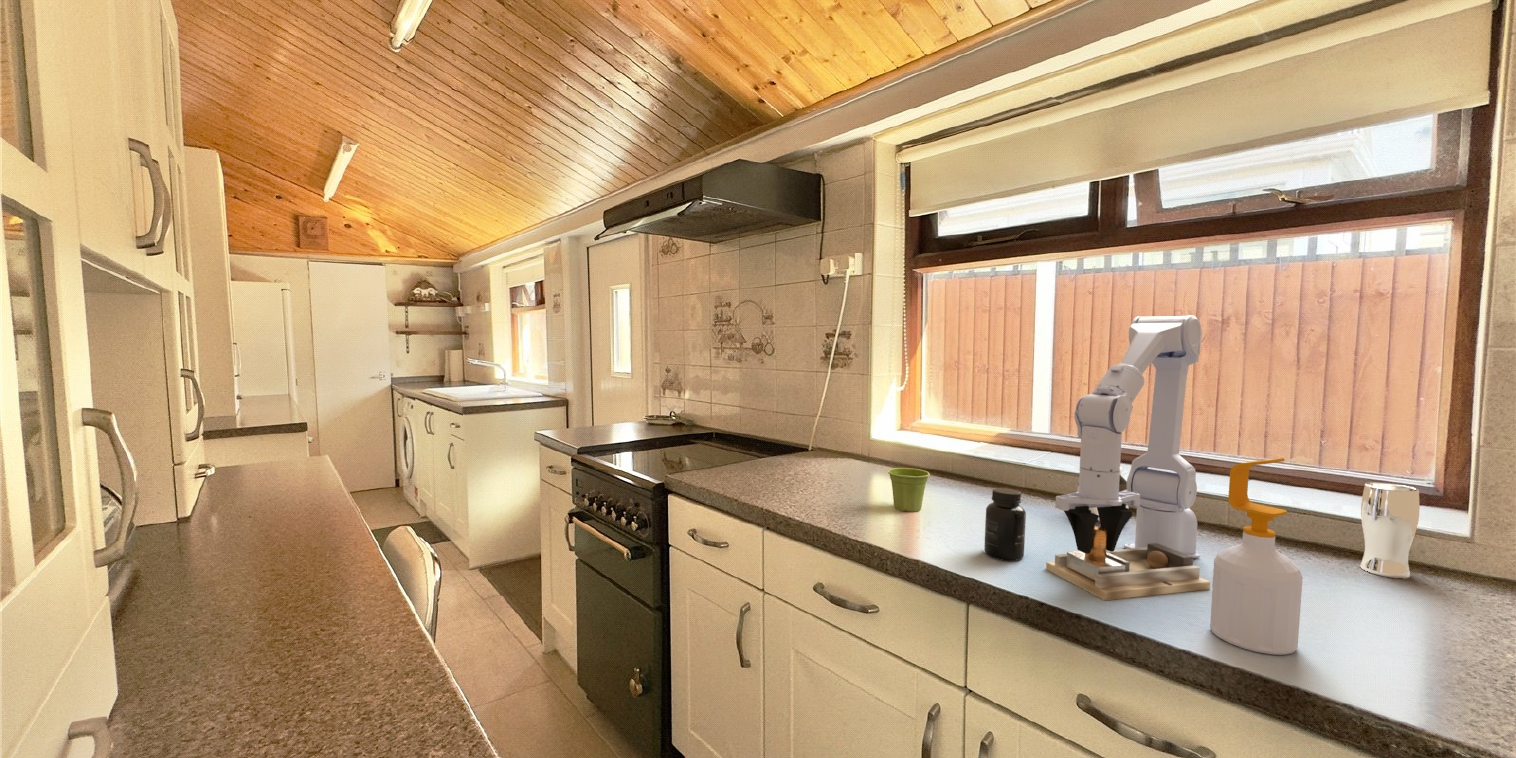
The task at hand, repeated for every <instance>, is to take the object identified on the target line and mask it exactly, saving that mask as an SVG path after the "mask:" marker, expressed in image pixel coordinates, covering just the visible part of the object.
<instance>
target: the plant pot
mask: <svg viewBox="0 0 1516 758" xmlns="http://www.w3.org/2000/svg"><path fill="white" fill-rule="evenodd" d="M887 472H888V475H889V478H890V481H891V488H892V489H891V491H892V499H893V506H894V509H896V510H898V511H901V512H904V511H908V512H912V513H914V512H919V511H921V510H922V507H923V500H924V495H925V489H926V483H927V482H928V479H929V477H930V476H931V474H930V472H929V471H927V470H923V469H918V468H913V467H912V468H910V467H895V468H890V469H888V470H887Z"/></svg>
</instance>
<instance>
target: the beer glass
mask: <svg viewBox="0 0 1516 758" xmlns="http://www.w3.org/2000/svg"><path fill="white" fill-rule="evenodd" d="M1360 504H1361V506H1360V519H1361V526H1362V532H1363V539H1364V552H1363V556H1362V560H1361V562H1360V566H1359V567H1361V568H1362V569H1361V568H1360V569H1361V570H1362V571H1364V570H1365V572H1367V571H1368V572H1367V573H1369V572H1370V574H1372V575H1376V576H1380V577H1385V578H1389V579H1390V578H1392V579H1398V578H1403V579H1404V580H1405V579H1410V577H1411V571H1410V566H1409V555H1410V554H1409V553H1410V549H1411V546H1412V543H1413V541H1414V538H1415V535H1416V533H1417V532H1416V531H1417V529H1418V525H1419V521H1420V520H1419V519H1420V508H1421V507H1420V490H1419V489H1418V488H1416V487H1413V486H1407V485H1402V484H1396V483H1391V482H1390V483H1388V482H1379V481H1377V482H1375V481H1374V482H1373V481H1370V482H1365V483H1364V487H1363V492H1362V498H1361V503H1360Z"/></svg>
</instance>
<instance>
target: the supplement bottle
mask: <svg viewBox="0 0 1516 758" xmlns="http://www.w3.org/2000/svg"><path fill="white" fill-rule="evenodd" d="M1021 493H1022V492H1020V491H1019V490H1016V489H1012V488H1004V487H1000V488H998V487H997V488H993V489H992V493H991V494H992V495H991V501H993V502H991V503H989V504H988V505H987V506H986V508H985V520H984V521H985V524H984V526H985V527H984V546H983V547H984V548H983V549H984V553H985V554H986V556H988V557H990V558H993V559H996V560H1000V561H1004V562H1005V561H1006V562H1007V561H1008V562H1017V561H1020V560H1022V559H1023V558H1024V556H1025V544H1026V543H1025V542H1026V540H1025V539H1026V520H1027V519H1026V518H1027V517H1026V516H1027V512H1026V510H1025V508H1024V507H1023V506H1022V505H1020V504H1021V503H1022V499H1021V498H1022V497H1021V496H1022V495H1021Z"/></svg>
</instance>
